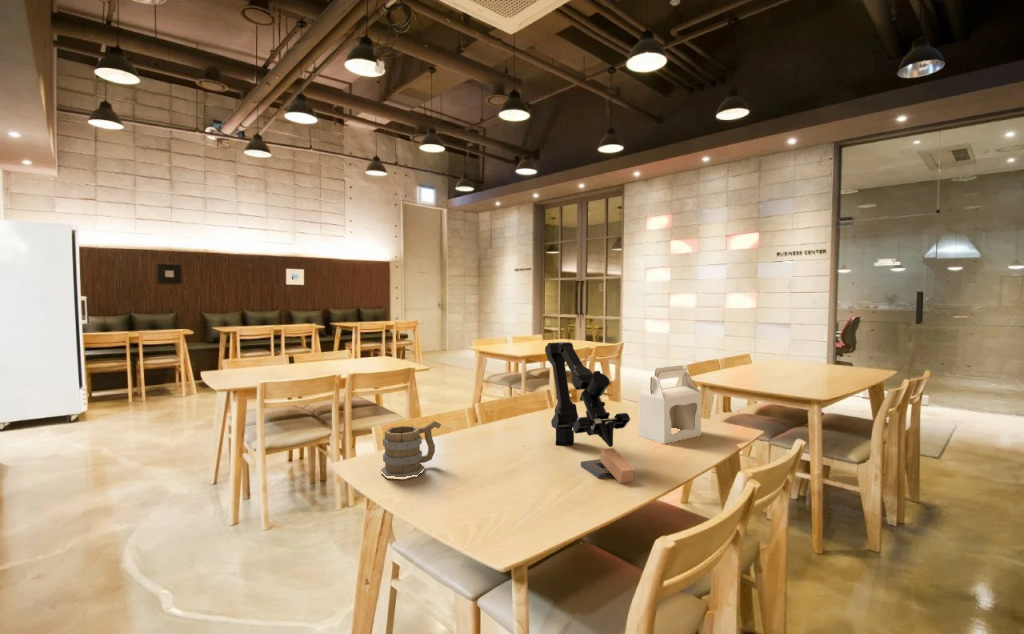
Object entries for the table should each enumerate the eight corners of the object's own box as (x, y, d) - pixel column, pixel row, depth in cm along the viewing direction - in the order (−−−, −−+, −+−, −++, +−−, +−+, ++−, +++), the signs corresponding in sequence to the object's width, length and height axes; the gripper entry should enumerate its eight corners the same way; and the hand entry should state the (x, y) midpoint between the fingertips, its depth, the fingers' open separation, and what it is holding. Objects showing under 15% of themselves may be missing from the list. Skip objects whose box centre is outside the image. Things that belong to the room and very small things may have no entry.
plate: (580, 466, 158) (580, 461, 158) (612, 461, 162) (612, 457, 162) (599, 478, 146) (599, 473, 146) (632, 473, 150) (632, 469, 150)
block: (601, 449, 152) (621, 471, 141) (613, 448, 153) (634, 469, 143) (600, 461, 153) (619, 483, 142) (611, 459, 155) (632, 481, 144)
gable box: (664, 444, 181) (664, 371, 180) (637, 436, 192) (637, 367, 191) (701, 435, 192) (701, 366, 191) (674, 428, 204) (674, 363, 203)
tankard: (390, 483, 144) (389, 434, 144) (377, 471, 155) (376, 425, 154) (450, 470, 155) (449, 424, 155) (434, 459, 166) (433, 416, 165)
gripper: (609, 415, 169) (626, 455, 159) (561, 419, 163) (576, 462, 153) (621, 397, 162) (640, 438, 152) (571, 401, 155) (588, 444, 145)
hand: (611, 446), depth 151 cm, fingers closed
